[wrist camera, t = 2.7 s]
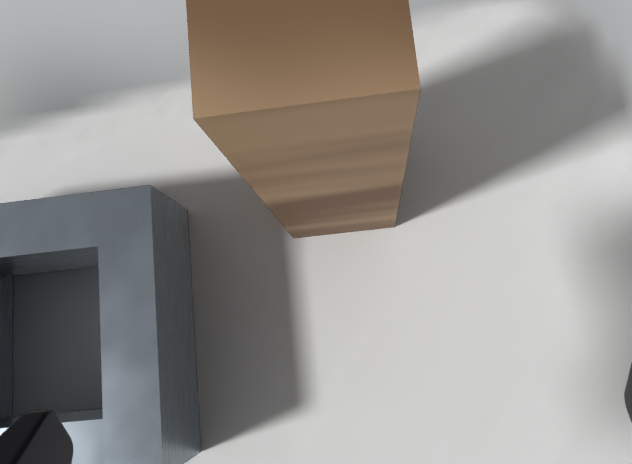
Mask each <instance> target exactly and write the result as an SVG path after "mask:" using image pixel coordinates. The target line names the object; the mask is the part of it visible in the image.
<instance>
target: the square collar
mask: <svg viewBox="0 0 632 464" xmlns="http://www.w3.org/2000/svg"><path fill="white" fill-rule="evenodd" d="M96 266H99V302H100V338H101V374H102V409H93V410H82V411H71V412H60V413H56V414H57V416H58V418H59V419H60V421H61V423H62V424H63V426H64V427H65V429H66V431H67V432H68V434H69V436H70V437H71V439H72V442H73V458H72V464H184V463H185V462H187V461H188V460H190V459H191V458H193V457H194V456H196V455H197V454H199V453H200V452H201V439H200V421H199V404H198V386H197V369H196V351H195V334H194V316H193V298H192V281H191V263H190V246H189V228H188V211H187V209H185V208H184V207H182V206H181V205H179V204H178V203H176V202H175V201H173V200H172V199H170V198H169V197H167V196H166V195H164V194H163V193H161V192H160V191H158V190H157V189H155V188H154V187H152V186H151V185H146V186H138V187H130V188H122V189H114V190H106V191H98V192H89V193H81V194H73V195H65V196H57V197H49V198H41V199H32V200H24V201H16V202H8V203H0V435H1V434H2V433H3V432H4V431H5V430H7V429H8V428H9V427H10V426H11V425H12V424H13V423H14V422H15V421H16V420H17V419H18V418H19V417H20V416H17V417H13V276H15V275H24V274H33V273H42V272H51V271H60V270H69V269H78V268H87V267H96Z"/></svg>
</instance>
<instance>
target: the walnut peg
mask: <svg viewBox="0 0 632 464" xmlns="http://www.w3.org/2000/svg"><path fill="white" fill-rule="evenodd" d="M186 6H187V22H188V39H189V54H190V55H189V56H190V72H191V89H192V105H193V119H194V120H195V121H196V122H197V124H198V125H199V126H200V127H201V128H202V130H203V131H204V132H205V133H206V134H207V136H208V137H209V138H210V139H211V140H212V141H213V143H214V144H215V145H216V146H217V147H218V149H219V150H220V151H221V152H222V153H223V155H224V156H225V157H226V158H227V159H228V161H229V162H230V163H231V164H232V165H233V166H234V168H235V169H236V170H237V171H238V172H239V174H240V175H241V176H242V177H243V178H244V180H245V181H246V182H247V183H248V184H249V186H250V187H251V188H252V189H253V190H254V191H255V193H256V194H257V195H258V196H259V197H260V199H261V200H262V201H263V202H264V203H265V205H266V206H267V207H268V208H269V209H270V211H271V212H272V213H273V214H274V215H275V216H276V218H277V219H278V220H279V221H280V222H281V224H282V225H283V226H284V227H285V228H286V230H287V231H288V232H289V233H290V234H291V236H292V237H293V238H301V237H310V236H319V235H328V234H337V233H345V232H354V231H363V230H372V229H381V228H390V227H395V224H396V218H397V213H398V208H399V202H400V197H401V191H402V186H403V181H404V175H405V170H406V164H407V159H408V154H409V148H410V143H411V137H412V132H413V127H414V121H415V116H416V111H417V105H418V100H419V94H420V89H421V88H420V81H419V74H418V67H417V60H416V52H415V45H414V38H413V31H412V23H411V16H410V9H409V2H408V0H186Z"/></svg>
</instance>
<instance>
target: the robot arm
mask: <svg viewBox="0 0 632 464" xmlns="http://www.w3.org/2000/svg"><path fill="white" fill-rule="evenodd" d="M624 398H625V404H626V408H627V411H628V414H629V416H630V419H631V422H632V364H631V368H630V372H629V376H628V380H627V384H626V388H625V393H624ZM72 458H73V442H72V439H71V437H70V436H69V434H68V432H67V431H66V429H65V427H64V426H63V424H62V423H61V421H60V419H59V418H58V416H57V414H56V413H55V412H54V411H52V410H37V411H29V412H26V413H24V414H23V415H22V416H20V417H19V418H18V419H17V420H16V421H15V422H14V423H13V424H12V425H11V426H10V427H9V428H8V429H7V430H5V431H4V432H3V433H2V434H1V435H0V464H72Z"/></svg>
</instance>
